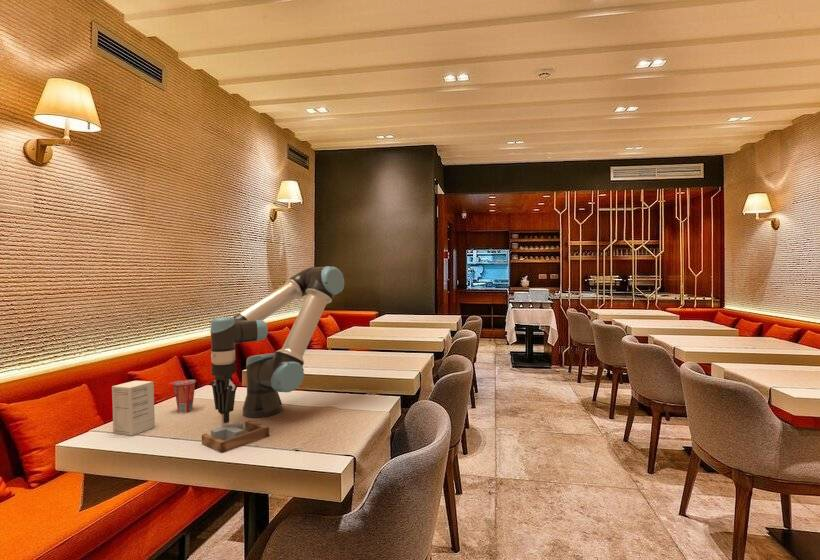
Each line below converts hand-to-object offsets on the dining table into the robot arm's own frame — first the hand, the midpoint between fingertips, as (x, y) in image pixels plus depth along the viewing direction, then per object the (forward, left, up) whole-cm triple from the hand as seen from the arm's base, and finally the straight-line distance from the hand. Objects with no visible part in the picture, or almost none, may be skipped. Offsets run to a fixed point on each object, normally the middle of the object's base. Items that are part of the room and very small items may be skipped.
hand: (224, 431), depth 145 cm
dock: (+7, 0, -1) cm, 7 cm away
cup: (-40, +5, -2) cm, 41 cm away
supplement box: (-32, -16, -2) cm, 36 cm away
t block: (+5, 0, -2) cm, 5 cm away
